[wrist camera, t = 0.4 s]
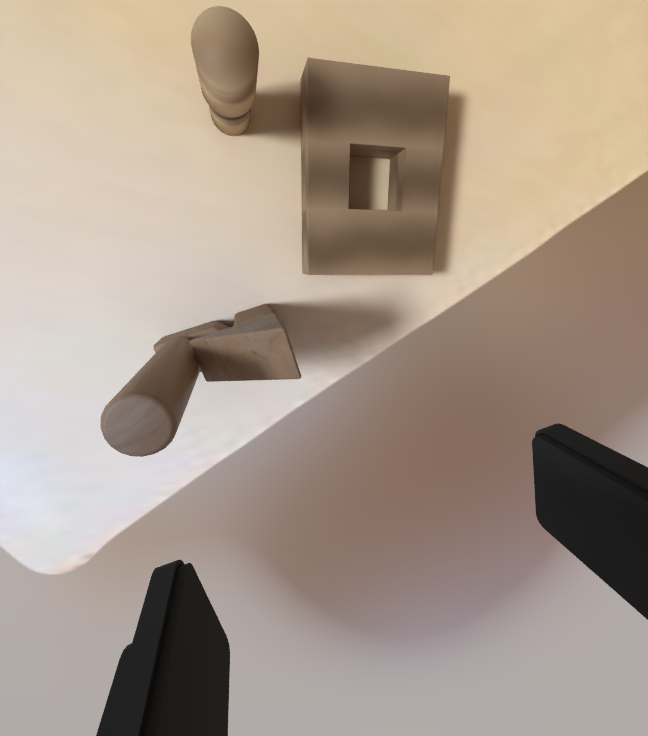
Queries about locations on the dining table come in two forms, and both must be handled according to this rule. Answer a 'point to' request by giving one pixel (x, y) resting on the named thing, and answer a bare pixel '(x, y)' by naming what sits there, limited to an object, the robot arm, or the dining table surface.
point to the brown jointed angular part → (194, 376)
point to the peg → (226, 66)
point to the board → (376, 140)
